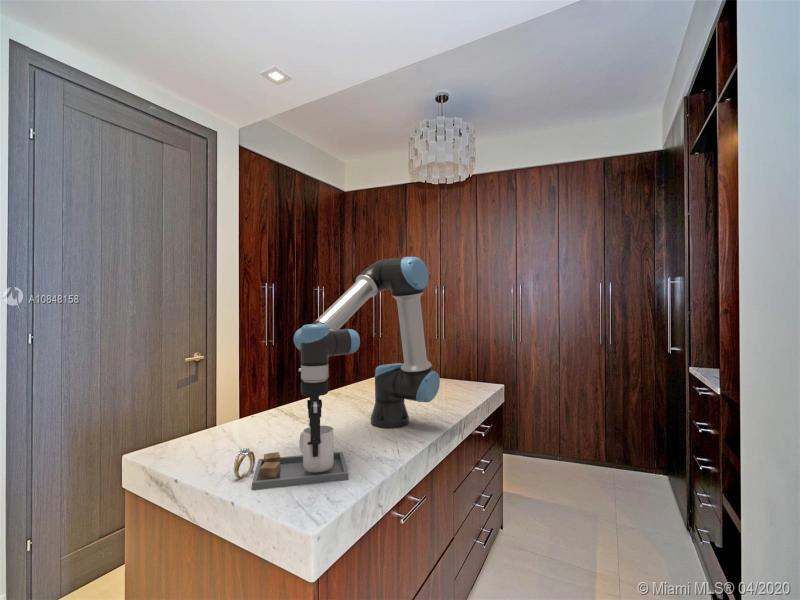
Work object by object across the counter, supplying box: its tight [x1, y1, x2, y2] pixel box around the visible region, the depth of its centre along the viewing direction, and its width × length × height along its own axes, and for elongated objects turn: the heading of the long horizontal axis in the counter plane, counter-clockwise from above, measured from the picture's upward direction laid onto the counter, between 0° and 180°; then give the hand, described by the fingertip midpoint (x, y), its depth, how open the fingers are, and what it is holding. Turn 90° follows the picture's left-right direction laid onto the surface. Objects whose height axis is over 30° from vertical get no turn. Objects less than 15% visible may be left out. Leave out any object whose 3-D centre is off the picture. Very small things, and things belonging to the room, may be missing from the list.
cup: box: [298, 424, 335, 472], centre depth 112 cm, size 8×12×10 cm
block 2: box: [260, 462, 280, 480], centre depth 106 cm, size 4×4×4 cm
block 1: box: [263, 451, 281, 463], centre depth 112 cm, size 4×4×4 cm
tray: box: [251, 451, 349, 491], centre depth 111 cm, size 24×16×2 cm, turn 104°
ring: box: [233, 447, 256, 480], centre depth 108 cm, size 7×3×8 cm, turn 156°
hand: (314, 460), depth 112 cm, fingers closed on cup, 10 cm apart
